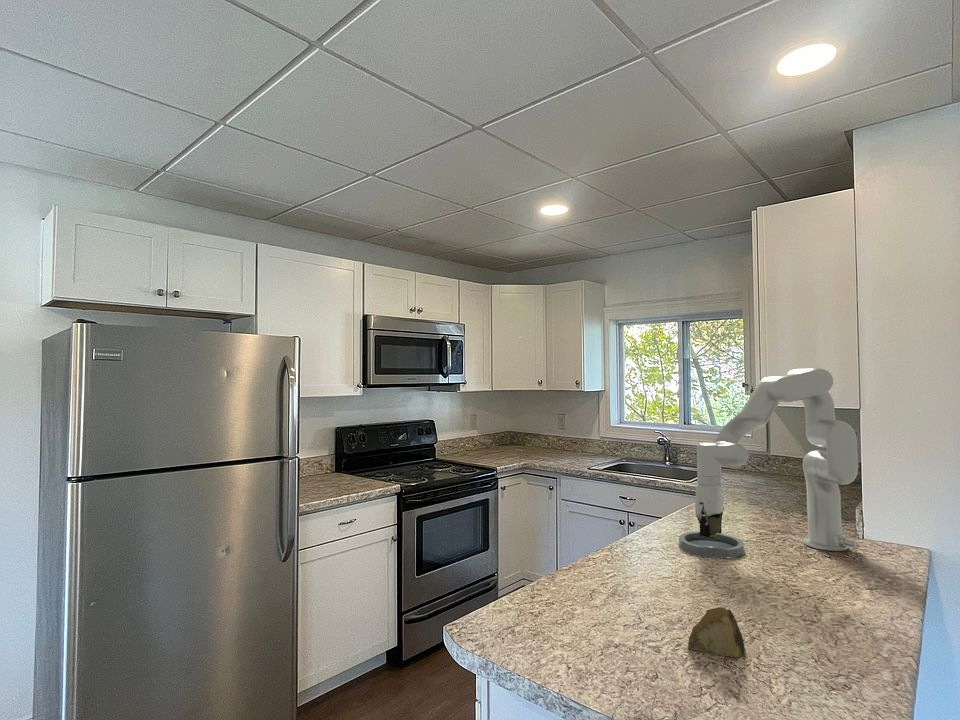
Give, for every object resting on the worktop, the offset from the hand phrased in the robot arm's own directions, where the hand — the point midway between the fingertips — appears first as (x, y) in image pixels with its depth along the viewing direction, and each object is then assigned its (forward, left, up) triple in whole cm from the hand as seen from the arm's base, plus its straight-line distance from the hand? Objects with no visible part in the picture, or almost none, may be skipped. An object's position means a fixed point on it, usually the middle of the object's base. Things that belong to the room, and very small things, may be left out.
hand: (710, 533), depth 174 cm
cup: (0, 0, -1) cm, 2 cm away
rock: (-36, +61, -5) cm, 71 cm away
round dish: (0, 0, -5) cm, 5 cm away
